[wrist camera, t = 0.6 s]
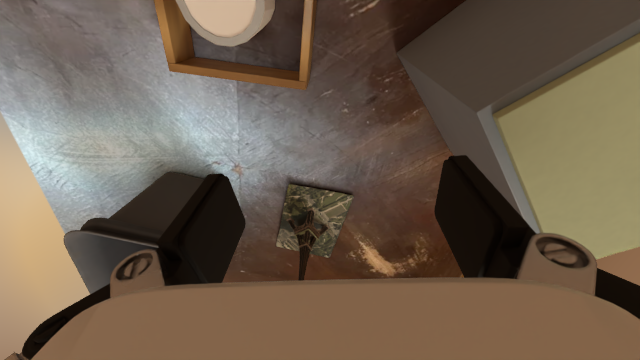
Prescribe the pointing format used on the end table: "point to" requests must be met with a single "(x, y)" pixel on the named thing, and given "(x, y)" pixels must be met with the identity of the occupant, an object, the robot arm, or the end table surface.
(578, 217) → the mat
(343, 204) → the eiffel tower figurine
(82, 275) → the storage bin
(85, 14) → the end table surface
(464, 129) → the block
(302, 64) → the wooden frame
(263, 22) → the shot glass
